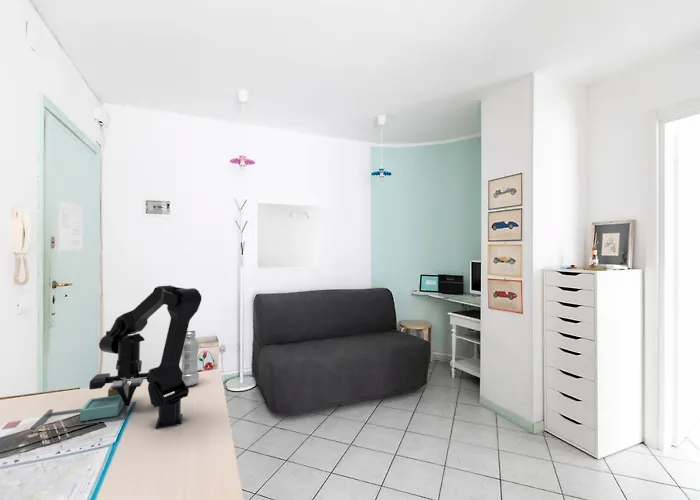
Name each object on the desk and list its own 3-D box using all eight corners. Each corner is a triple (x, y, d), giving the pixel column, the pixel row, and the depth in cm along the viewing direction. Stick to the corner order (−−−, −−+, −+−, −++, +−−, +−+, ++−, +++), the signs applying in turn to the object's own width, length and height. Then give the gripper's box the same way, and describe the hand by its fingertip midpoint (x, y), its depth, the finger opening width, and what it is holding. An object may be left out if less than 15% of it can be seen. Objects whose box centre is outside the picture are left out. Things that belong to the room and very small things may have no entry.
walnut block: (126, 403, 113) (126, 387, 113) (107, 405, 111) (108, 390, 111) (129, 397, 117) (129, 382, 117) (111, 399, 115) (112, 384, 115)
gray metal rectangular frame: (125, 419, 101) (125, 413, 101) (30, 433, 93) (30, 427, 93) (133, 403, 112) (133, 398, 112) (49, 415, 104) (49, 409, 104)
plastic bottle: (202, 382, 132) (203, 330, 132) (192, 389, 125) (193, 333, 125) (186, 381, 132) (187, 329, 133) (175, 388, 125) (176, 333, 126)
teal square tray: (117, 418, 102) (117, 405, 102) (80, 423, 98) (80, 410, 98) (123, 406, 110) (124, 394, 110) (89, 411, 106) (90, 398, 106)
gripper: (165, 346, 118) (164, 392, 118) (100, 351, 111) (99, 400, 110) (161, 354, 108) (160, 405, 107) (89, 361, 101) (88, 415, 100)
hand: (127, 405), depth 107 cm, fingers closed
